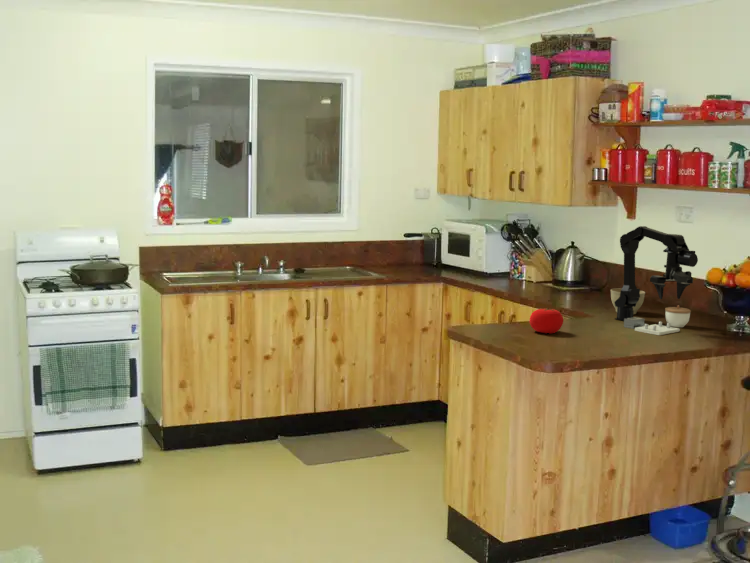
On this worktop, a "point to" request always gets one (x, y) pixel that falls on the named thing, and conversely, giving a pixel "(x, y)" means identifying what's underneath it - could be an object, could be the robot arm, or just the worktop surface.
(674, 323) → the lidded jar
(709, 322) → the worktop surface
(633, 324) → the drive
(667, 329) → the white peg board
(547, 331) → the tomato
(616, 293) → the planter bowl
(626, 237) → the robot arm
